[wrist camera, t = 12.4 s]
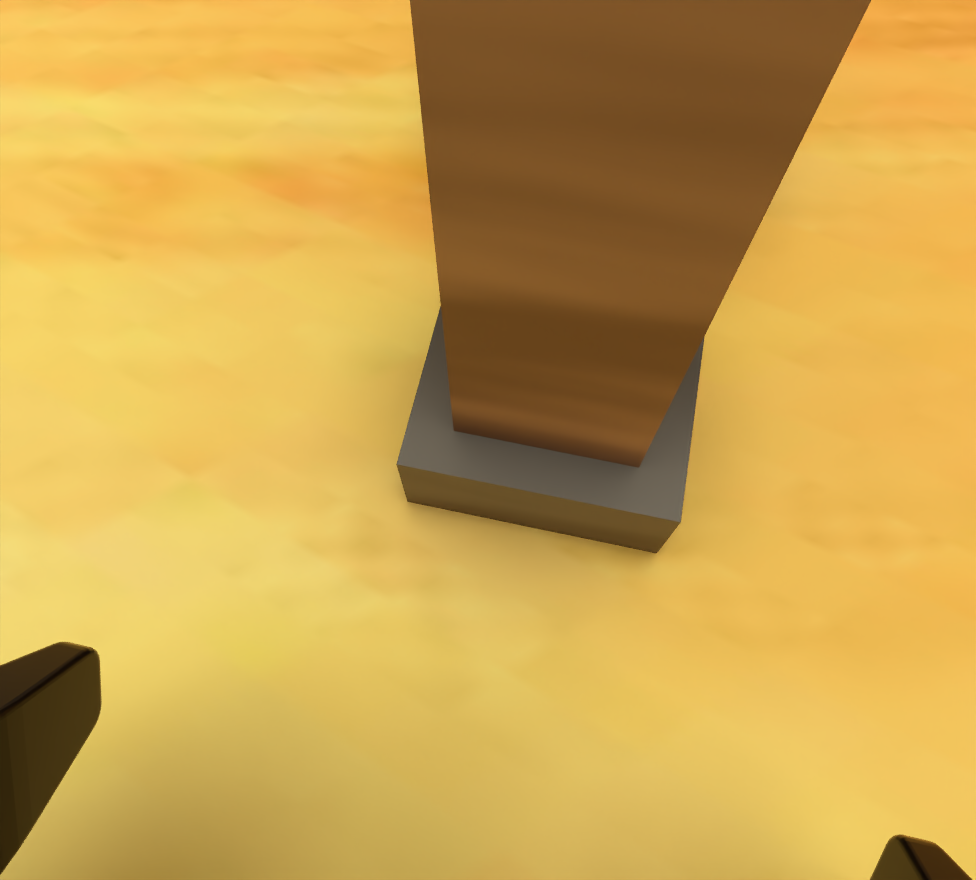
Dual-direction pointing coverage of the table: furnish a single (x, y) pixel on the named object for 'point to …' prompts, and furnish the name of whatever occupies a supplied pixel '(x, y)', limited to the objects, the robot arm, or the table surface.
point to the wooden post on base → (593, 238)
